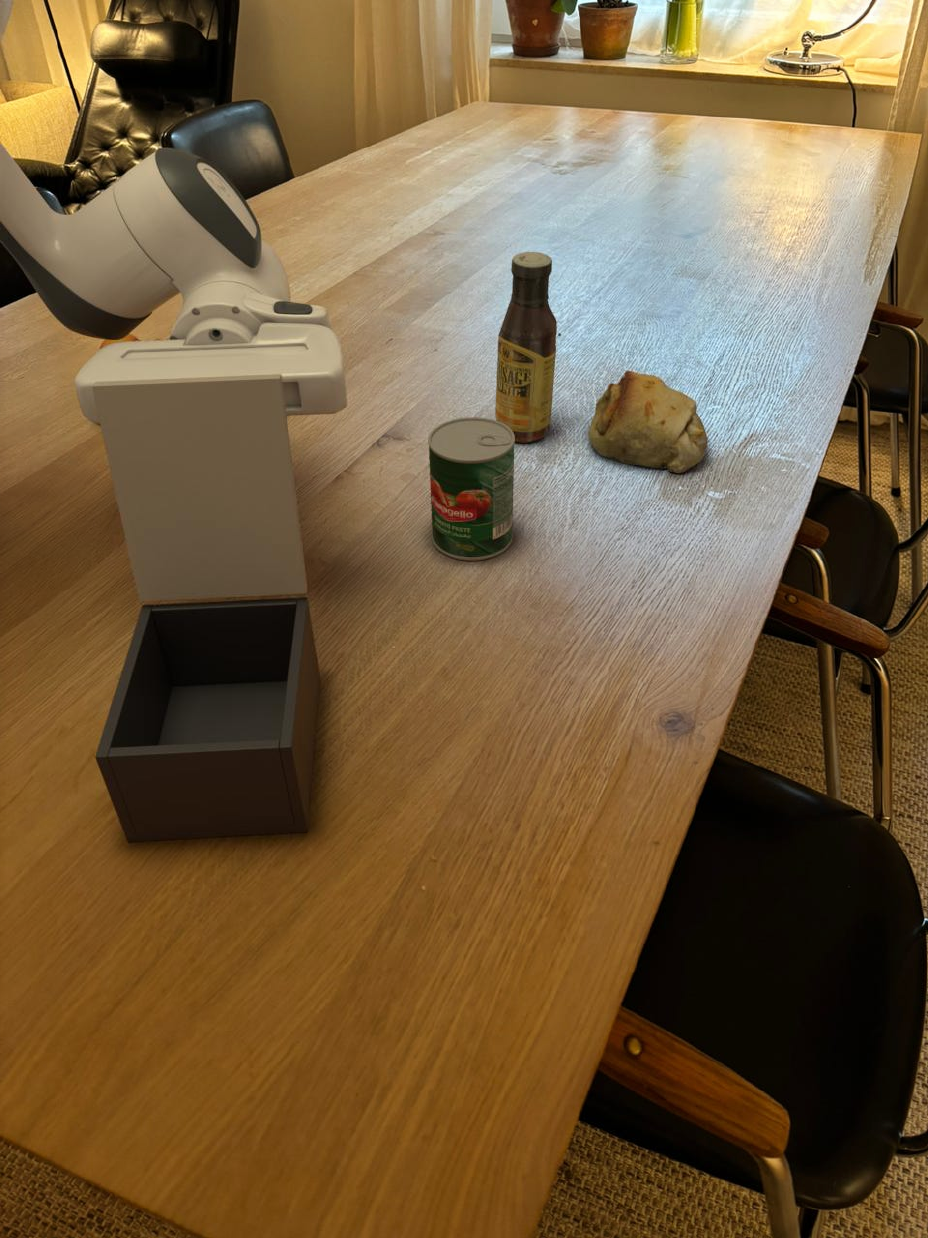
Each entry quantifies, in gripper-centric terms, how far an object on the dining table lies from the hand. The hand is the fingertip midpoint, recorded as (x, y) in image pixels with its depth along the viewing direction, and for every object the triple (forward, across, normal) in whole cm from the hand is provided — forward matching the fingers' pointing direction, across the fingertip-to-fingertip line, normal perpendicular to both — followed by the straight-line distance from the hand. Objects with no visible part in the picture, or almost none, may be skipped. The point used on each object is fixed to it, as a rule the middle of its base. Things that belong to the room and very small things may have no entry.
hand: (201, 430), depth 71 cm
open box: (+12, 0, +21) cm, 24 cm away
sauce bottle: (-35, +27, +21) cm, 49 cm away
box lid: (+3, 0, +4) cm, 5 cm away
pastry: (-31, +40, +21) cm, 55 cm away
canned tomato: (-15, +20, +21) cm, 33 cm away
